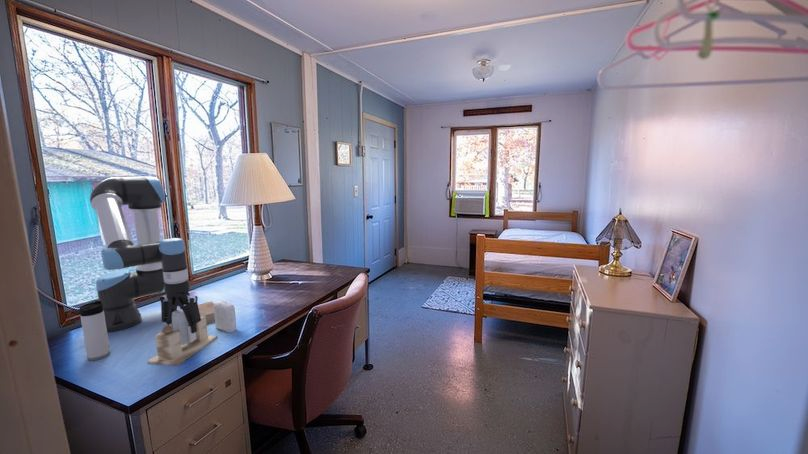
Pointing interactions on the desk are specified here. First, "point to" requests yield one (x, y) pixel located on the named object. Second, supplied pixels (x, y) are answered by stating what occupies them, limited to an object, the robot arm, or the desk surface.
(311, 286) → the desk surface
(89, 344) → the travel mug
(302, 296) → the desk surface
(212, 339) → the posts
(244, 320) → the desk surface
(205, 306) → the brick
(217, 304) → the photo printer
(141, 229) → the robot arm
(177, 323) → the skincare box
